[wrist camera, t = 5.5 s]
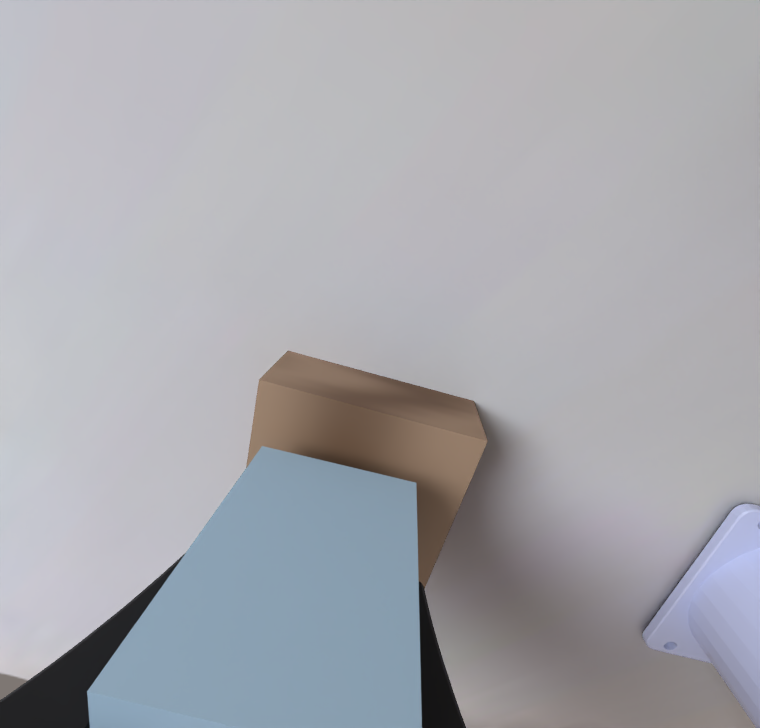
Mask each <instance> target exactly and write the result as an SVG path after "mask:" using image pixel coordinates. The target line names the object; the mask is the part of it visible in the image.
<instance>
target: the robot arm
mask: <svg viewBox="0 0 760 728" xmlns="http://www.w3.org/2000/svg"><path fill="white" fill-rule="evenodd" d="M185 554H186V553H185ZM185 554H184V555H185ZM184 555H183V556H184ZM183 556H182V557H181V558H180V559H179V560H177V561H176V562H175V563H174V564H173V565H172V566H171V567H170V568H169V569H167V570H166V571H165V572H164V573H163V574H162V575H161V576H160V577H159V578H157V579H156V580H155V581H154V582H153V583H152V584H150V585H149V586H148V587H147V588H146V589H145V590H143V591H142V592H141V593H140V594H139V595H138V596H136V597H135V598H134V599H133V600H132V601H131V602H129V603H128V604H127V605H126V606H125V607H123V608H122V609H121V610H120V611H119V612H117V613H116V614H115V615H114V616H112V617H111V618H110V619H109V620H107V621H106V622H105V623H104V624H102V625H101V626H100V627H99V628H97V629H96V630H95V631H94V632H92V633H91V634H90V635H89V636H87V637H86V638H85V639H83V640H82V641H81V642H80V643H78V644H77V645H76V646H75V647H73V648H72V649H71V650H69V651H68V652H67V653H65V654H64V655H63V656H61V657H60V658H59V659H57V660H56V661H55V662H53V663H52V664H51V665H49V666H48V667H46V668H45V669H44V670H42V671H41V672H40V673H38V674H37V675H35V676H34V677H33V678H31V679H30V680H28V681H27V682H26V683H24V684H23V685H22V686H20V687H19V688H17V689H16V690H14V691H13V692H12V693H10V694H9V695H7V696H6V697H4V698H3V699H1V700H0V728H90V723H89V710H88V696H87V691H88V690H89V688H90V687H91V685H92V684H93V682H94V681H95V680H96V678H97V677H98V675H99V674H100V673H101V671H102V670H103V668H104V667H105V666H106V664H107V663H108V661H109V660H110V659H111V657H112V656H113V654H114V653H115V652H116V650H117V649H118V647H119V646H120V645H121V643H122V642H123V640H124V639H125V638H126V636H127V635H128V633H129V632H130V631H131V629H132V628H133V626H134V625H135V624H136V622H137V621H138V619H139V618H140V617H141V615H142V614H143V612H144V611H145V610H146V608H147V607H148V605H149V604H150V603H151V601H152V600H153V598H154V597H155V596H156V594H157V593H158V591H159V590H160V589H161V587H162V586H163V584H164V583H165V582H166V580H167V579H168V577H169V576H170V575H171V573H172V572H173V570H174V569H175V568H176V566H177V565H178V563H179V562H180V561H181V559H182V558H183ZM419 621H420V666H421V710H422V728H466V726H465V724H464V721H463V718H462V716H461V713H460V710H459V707H458V704H457V701H456V698H455V696H454V693H453V690H452V686H451V683H450V680H449V677H448V674H447V671H446V668H445V665H444V662H443V659H442V655H441V652H440V649H439V645H438V642H437V638H436V635H435V631H434V627H433V624H432V620H431V616H430V612H429V608H428V604H427V599H426V595H425V590H424V586H423V584H422V583H421V582H419ZM642 637H643V640H644V641H645V643H646V645H647V646H648V647H649V648H651V649H654V650H657V651H662V652H666V653H670V654H674V655H678V656H683V657H687V658H691V659H695V660H700V661H704V662H708V663H712V664H713V665H714V667H715V668H716V670H717V671H718V673H719V674H720V676H721V677H722V679H723V680H724V681H725V683H726V684H727V686H728V687H729V689H730V690H731V692H732V693H733V695H734V696H735V698H736V699H737V700H738V702H739V703H740V705H741V706H742V708H743V709H744V711H745V712H746V714H747V715H748V717H749V718H750V720H751V721H752V722H753V724H754V725H755V727H756V728H760V506H758V505H754V504H742V505H739V506H737V507H735V508H734V509H733V510H732V511H731V512H730V513H729V515H728V516H727V517H726V519H725V520H724V522H723V523H722V524H721V526H720V527H719V528H718V530H717V531H716V533H715V534H714V535H713V537H712V538H711V539H710V541H709V542H708V544H707V545H706V546H705V548H704V549H703V550H702V552H701V553H700V555H699V556H698V557H697V559H696V560H695V561H694V563H693V564H692V566H691V567H690V568H689V570H688V571H687V572H686V574H685V575H684V577H683V578H682V579H681V581H680V582H679V583H678V585H677V586H676V588H675V589H674V590H673V592H672V593H671V594H670V596H669V597H668V599H667V600H666V601H665V603H664V604H663V605H662V607H661V608H660V610H659V611H658V612H657V614H656V615H655V616H654V618H653V619H652V621H651V622H650V623H649V625H648V626H647V627H646V629H645V630H644V632H643V634H642Z"/></svg>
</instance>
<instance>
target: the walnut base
mask: <svg viewBox="0 0 760 728" xmlns="http://www.w3.org/2000/svg"><path fill="white" fill-rule="evenodd" d="M487 442H488V440H487V438H486V435H485V432H484V429H483V426H482V423H481V420H480V417H479V414H478V412H477V409H476V406H475V403H474V401H472V400H468V399H464V398H460V397H457V396H453V395H449V394H446V393H442V392H438V391H435V390H431V389H427V388H424V387H420V386H416V385H412V384H409V383H405V382H401V381H398V380H394V379H390V378H387V377H383V376H379V375H376V374H372V373H368V372H364V371H361V370H357V369H353V368H350V367H346V366H342V365H339V364H335V363H331V362H328V361H324V360H320V359H316V358H313V357H309V356H305V355H302V354H298V353H294V352H291V351H287V352H286V353H285V354H284V355H283V356H282V357H281V358H280V359H279V360H278V361H277V362H276V363H275V364H274V365H273V366H272V367H271V368H270V369H269V370H268V371H267V372H266V373H265V374H264V375H263V376H262V377H261V378H260V379H259V384H258V391H257V398H256V405H255V412H254V419H253V425H252V432H251V439H250V446H249V453H248V460H247V466H246V468H247V467H248V465H249V464H250V462H251V461H252V460H253V458H254V457H255V455H256V454H257V453H258V451H259V450H260V448H261V447H262V446H265V447H269V448H273V449H277V450H281V451H286V452H290V453H294V454H298V455H302V456H306V457H311V458H315V459H319V460H323V461H327V462H332V463H336V464H340V465H344V466H348V467H353V468H357V469H361V470H365V471H369V472H374V473H378V474H382V475H386V476H390V477H394V478H399V479H403V480H407V481H411V482H415V483H416V488H417V533H418V577H419V582H421V583H422V584H423V586H424V588H425V586H426V584H427V581H428V579H429V577H430V574H431V572H432V570H433V567H434V565H435V563H436V560H437V558H438V556H439V553H440V551H441V549H442V546H443V544H444V542H445V539H446V537H447V535H448V532H449V530H450V528H451V526H452V523H453V521H454V519H455V516H456V514H457V512H458V509H459V507H460V505H461V502H462V500H463V498H464V495H465V493H466V491H467V488H468V486H469V484H470V481H471V479H472V477H473V474H474V472H475V470H476V467H477V465H478V463H479V460H480V458H481V456H482V453H483V451H484V449H485V446H486V444H487Z"/></svg>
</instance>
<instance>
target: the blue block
mask: <svg viewBox="0 0 760 728" xmlns="http://www.w3.org/2000/svg"><path fill="white" fill-rule="evenodd" d="M87 696H88V710H89V723H90V728H422V710H421V666H420V621H419V577H418V533H417V488H416V483H415V482H411V481H407V480H403V479H399V478H394V477H390V476H386V475H382V474H378V473H374V472H369V471H365V470H361V469H357V468H353V467H348V466H344V465H340V464H336V463H332V462H327V461H323V460H319V459H315V458H311V457H306V456H302V455H298V454H294V453H290V452H286V451H281V450H277V449H273V448H269V447H265V446H262V447H261V448H260V450H259V451H258V453H257V454H256V455H255V457H254V458H253V460H252V461H251V462H250V464H249V465H248V467H247V468H246V469H245V471H244V472H243V474H242V475H241V476H240V478H239V479H238V481H237V482H236V483H235V485H234V486H233V488H232V489H231V490H230V492H229V493H228V495H227V496H226V497H225V499H224V500H223V502H222V503H221V504H220V506H219V507H218V509H217V510H216V511H215V513H214V514H213V516H212V517H211V518H210V520H209V521H208V523H207V524H206V525H205V527H204V528H203V530H202V531H201V532H200V534H199V535H198V537H197V538H196V539H195V541H194V542H193V544H192V545H191V546H190V548H189V549H188V551H187V552H186V554H185V555H184V556H183V558H182V559H181V561H180V562H179V563H178V565H177V566H176V568H175V569H174V570H173V572H172V573H171V575H170V576H169V577H168V579H167V580H166V582H165V583H164V584H163V586H162V587H161V589H160V590H159V591H158V593H157V594H156V596H155V597H154V598H153V600H152V601H151V603H150V604H149V605H148V607H147V608H146V610H145V611H144V612H143V614H142V615H141V617H140V618H139V619H138V621H137V622H136V624H135V625H134V626H133V628H132V629H131V631H130V632H129V633H128V635H127V636H126V638H125V639H124V640H123V642H122V643H121V645H120V646H119V647H118V649H117V650H116V652H115V653H114V654H113V656H112V657H111V659H110V660H109V661H108V663H107V664H106V666H105V667H104V668H103V670H102V671H101V673H100V674H99V675H98V677H97V678H96V680H95V681H94V682H93V684H92V685H91V687H90V688H89V690H88V691H87Z"/></svg>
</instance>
